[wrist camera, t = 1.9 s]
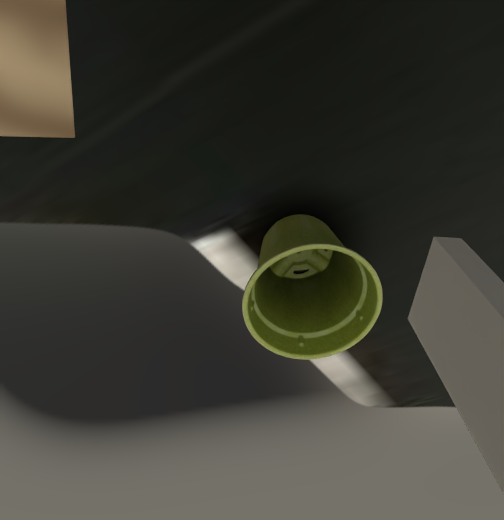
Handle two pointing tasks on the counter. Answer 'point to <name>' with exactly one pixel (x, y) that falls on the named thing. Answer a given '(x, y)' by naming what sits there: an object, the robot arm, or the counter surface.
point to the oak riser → (35, 69)
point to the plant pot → (310, 292)
